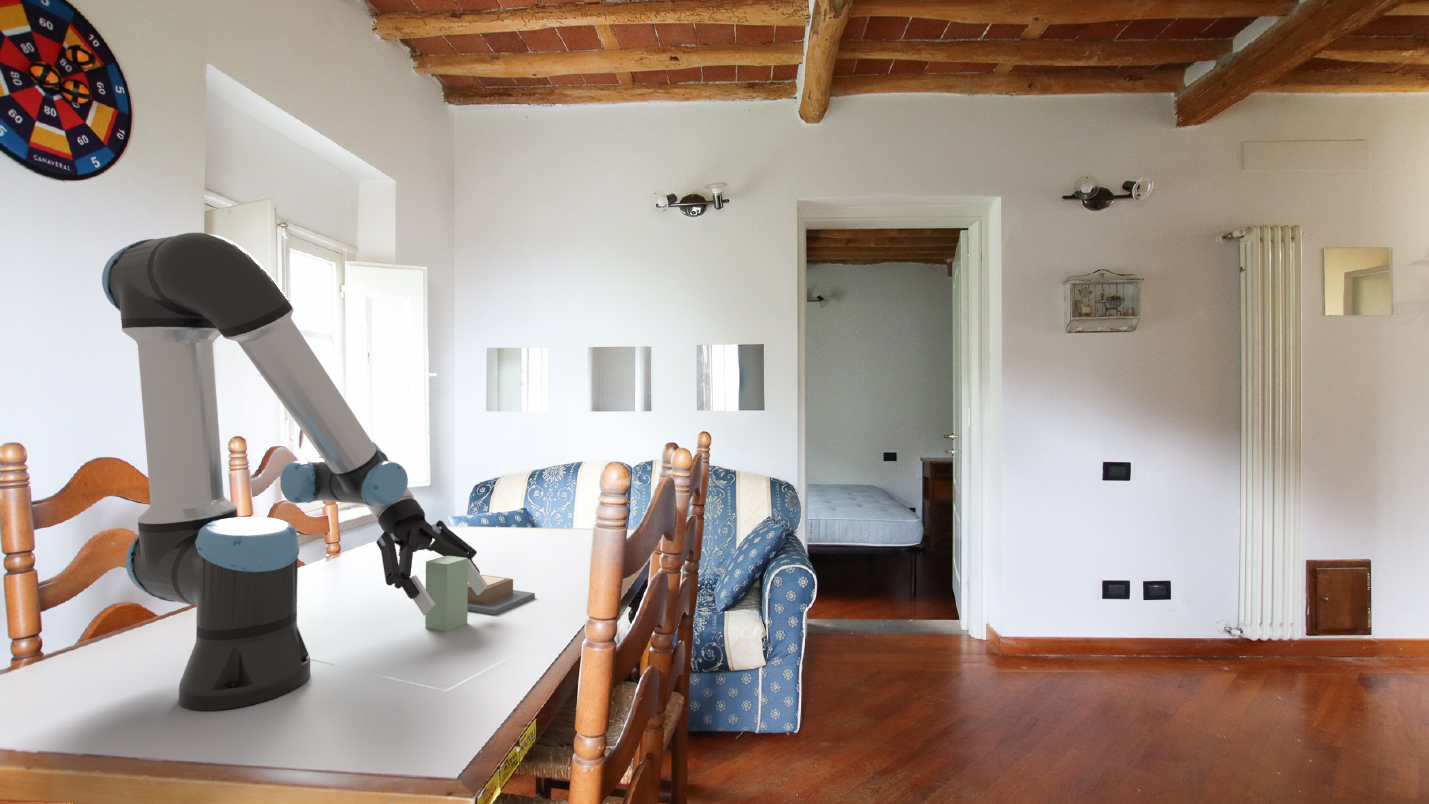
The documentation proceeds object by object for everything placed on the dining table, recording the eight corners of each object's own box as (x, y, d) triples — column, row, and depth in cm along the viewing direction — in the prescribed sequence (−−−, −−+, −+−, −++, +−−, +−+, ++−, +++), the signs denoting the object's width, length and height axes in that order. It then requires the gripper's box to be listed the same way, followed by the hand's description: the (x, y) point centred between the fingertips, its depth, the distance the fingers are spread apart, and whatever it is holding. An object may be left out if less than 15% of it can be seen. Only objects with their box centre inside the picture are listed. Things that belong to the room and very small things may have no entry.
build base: (494, 614, 122) (494, 593, 122) (431, 604, 128) (431, 583, 128) (534, 597, 133) (534, 577, 133) (475, 589, 139) (475, 569, 139)
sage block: (446, 631, 113) (447, 564, 113) (425, 627, 115) (425, 561, 115) (467, 623, 117) (467, 558, 118) (446, 619, 119) (447, 555, 119)
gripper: (435, 513, 133) (492, 594, 127) (326, 534, 111) (389, 634, 105) (455, 489, 131) (514, 570, 125) (348, 505, 109) (413, 606, 103)
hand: (457, 599), depth 115 cm, fingers open, 12 cm apart
